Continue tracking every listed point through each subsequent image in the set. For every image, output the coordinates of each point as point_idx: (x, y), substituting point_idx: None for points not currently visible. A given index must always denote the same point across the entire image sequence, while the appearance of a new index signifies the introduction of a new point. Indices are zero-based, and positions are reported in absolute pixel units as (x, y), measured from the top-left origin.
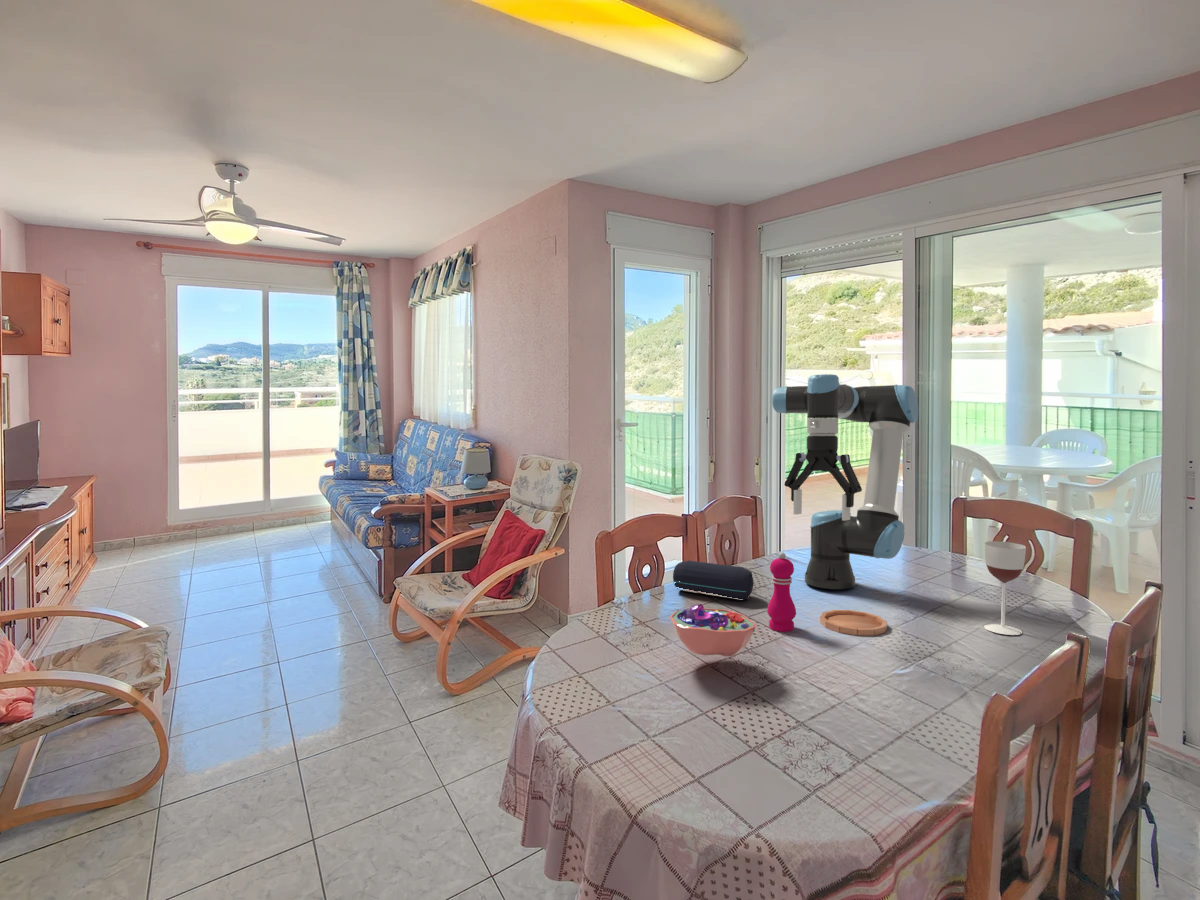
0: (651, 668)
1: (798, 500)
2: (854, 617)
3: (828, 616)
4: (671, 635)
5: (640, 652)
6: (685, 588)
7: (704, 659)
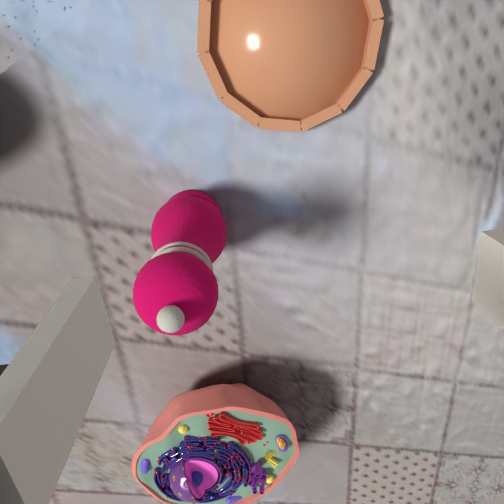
0: None
1: (70, 393)
2: None
3: (211, 46)
4: (107, 411)
5: None
6: None
7: None
